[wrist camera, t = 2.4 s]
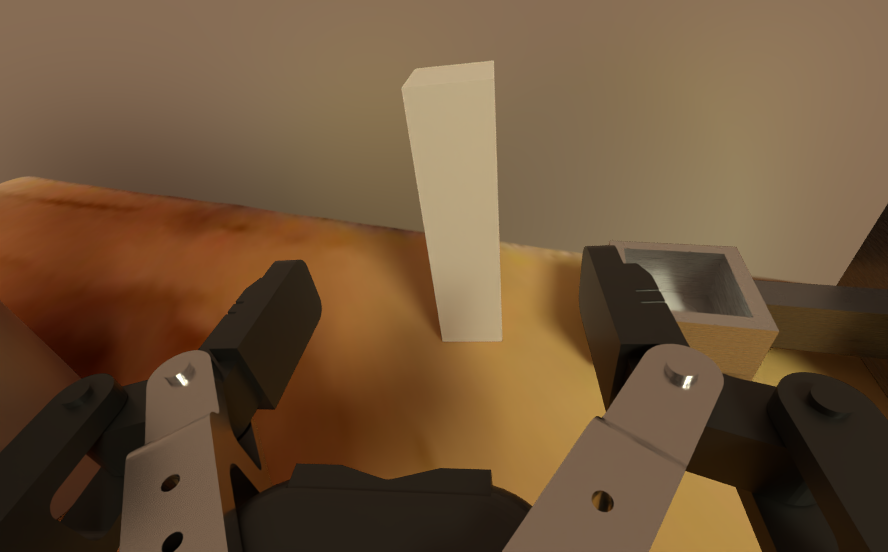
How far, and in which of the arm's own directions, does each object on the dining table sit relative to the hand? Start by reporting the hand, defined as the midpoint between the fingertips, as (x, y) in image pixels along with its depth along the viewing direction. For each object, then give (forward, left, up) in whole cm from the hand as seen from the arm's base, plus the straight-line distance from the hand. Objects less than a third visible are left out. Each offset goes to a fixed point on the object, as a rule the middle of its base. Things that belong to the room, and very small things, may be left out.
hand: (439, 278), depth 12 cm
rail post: (-2, +11, -13) cm, 17 cm away
